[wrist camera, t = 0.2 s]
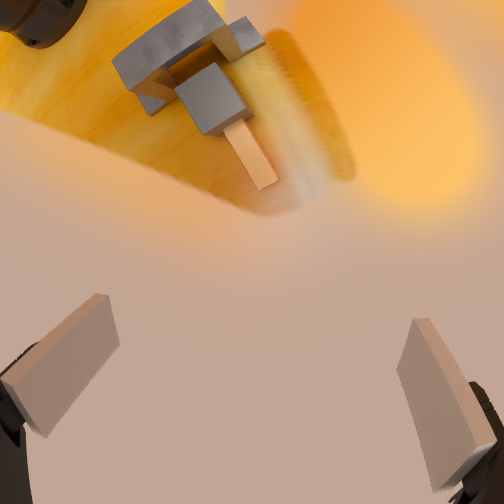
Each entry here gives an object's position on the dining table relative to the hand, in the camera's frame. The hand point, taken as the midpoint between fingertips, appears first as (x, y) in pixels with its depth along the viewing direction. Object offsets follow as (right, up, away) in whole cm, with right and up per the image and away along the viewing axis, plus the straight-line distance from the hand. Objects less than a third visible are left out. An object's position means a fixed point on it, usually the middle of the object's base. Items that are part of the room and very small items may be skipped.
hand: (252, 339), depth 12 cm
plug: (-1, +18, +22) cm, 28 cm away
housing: (-7, +27, +19) cm, 34 cm away
